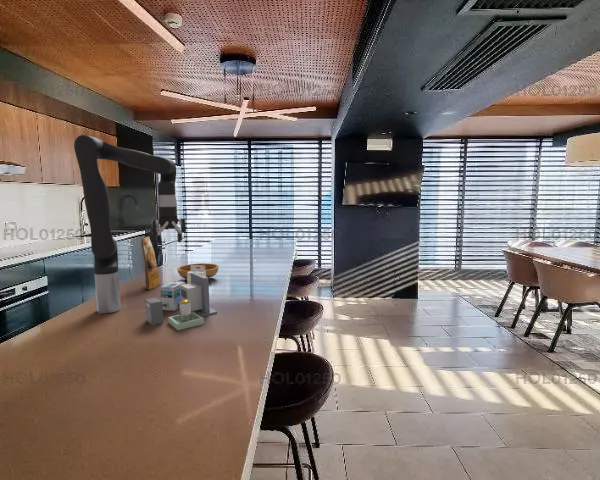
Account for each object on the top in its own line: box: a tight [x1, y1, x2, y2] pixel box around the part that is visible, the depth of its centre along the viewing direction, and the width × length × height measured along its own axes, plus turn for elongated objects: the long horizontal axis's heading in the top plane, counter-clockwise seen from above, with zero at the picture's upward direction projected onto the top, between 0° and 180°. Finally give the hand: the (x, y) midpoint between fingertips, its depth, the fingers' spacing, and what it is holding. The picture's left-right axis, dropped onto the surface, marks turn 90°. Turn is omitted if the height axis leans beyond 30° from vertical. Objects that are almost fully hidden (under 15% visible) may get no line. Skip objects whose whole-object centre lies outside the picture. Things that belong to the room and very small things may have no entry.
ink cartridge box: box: [186, 265, 206, 284], centre depth 182 cm, size 9×5×15 cm, turn 84°
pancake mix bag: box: [141, 235, 161, 290], centre depth 198 cm, size 7×19×28 cm, turn 5°
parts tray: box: [167, 311, 205, 331], centre depth 141 cm, size 10×10×2 cm
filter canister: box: [178, 299, 192, 323], centre depth 140 cm, size 4×4×9 cm
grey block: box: [144, 297, 164, 326], centre depth 142 cm, size 5×7×9 cm, turn 39°
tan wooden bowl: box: [176, 263, 220, 280], centre depth 212 cm, size 30×24×8 cm
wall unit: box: [180, 272, 218, 318], centre depth 154 cm, size 12×16×16 cm
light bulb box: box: [160, 281, 187, 312], centre depth 161 cm, size 11×7×11 cm, turn 168°
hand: (169, 243), depth 154 cm, fingers open, 8 cm apart
